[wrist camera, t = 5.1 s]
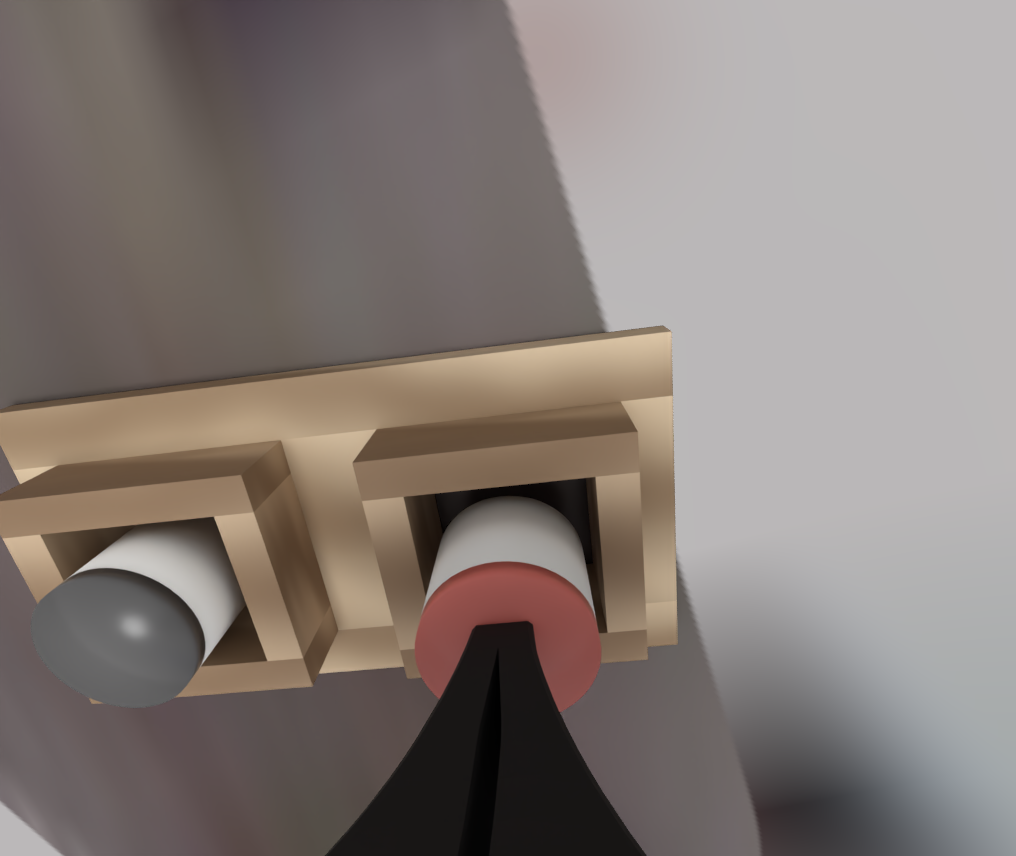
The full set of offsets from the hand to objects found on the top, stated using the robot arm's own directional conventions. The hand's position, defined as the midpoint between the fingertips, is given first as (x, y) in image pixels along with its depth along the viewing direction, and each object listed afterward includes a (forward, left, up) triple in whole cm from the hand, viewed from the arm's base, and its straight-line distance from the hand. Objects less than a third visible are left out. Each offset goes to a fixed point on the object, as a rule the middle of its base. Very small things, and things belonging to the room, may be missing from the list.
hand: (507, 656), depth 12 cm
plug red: (0, 0, -4) cm, 4 cm away
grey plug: (0, +11, -5) cm, 12 cm away
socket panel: (0, +6, -7) cm, 9 cm away
